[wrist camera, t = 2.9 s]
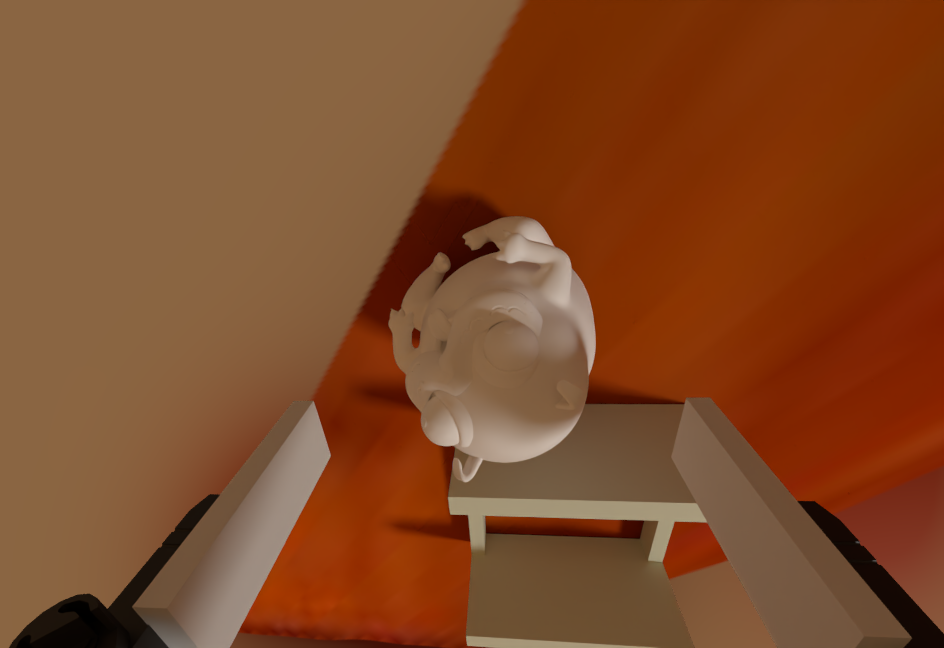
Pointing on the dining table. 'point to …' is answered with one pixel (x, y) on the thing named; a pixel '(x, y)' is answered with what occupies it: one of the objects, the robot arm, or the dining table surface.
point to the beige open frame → (580, 558)
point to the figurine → (498, 347)
